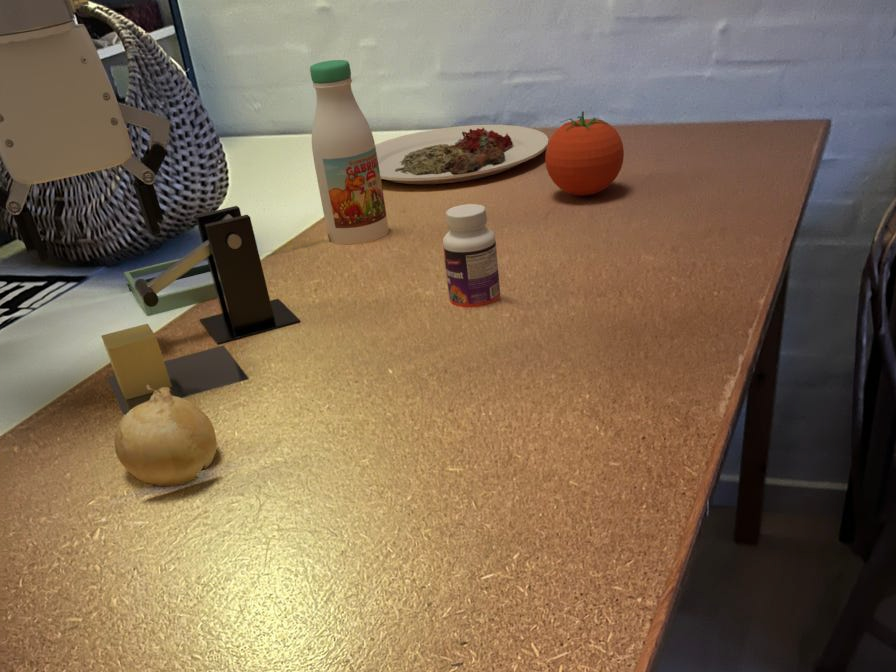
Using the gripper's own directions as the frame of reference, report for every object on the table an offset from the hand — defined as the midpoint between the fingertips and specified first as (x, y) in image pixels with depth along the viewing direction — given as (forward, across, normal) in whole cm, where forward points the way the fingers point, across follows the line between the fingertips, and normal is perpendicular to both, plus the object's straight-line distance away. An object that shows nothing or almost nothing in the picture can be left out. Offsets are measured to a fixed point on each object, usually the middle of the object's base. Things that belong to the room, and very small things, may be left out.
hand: (99, 244), depth 85 cm
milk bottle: (+14, -33, -30) cm, 47 cm away
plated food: (+14, -58, -56) cm, 82 cm away
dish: (+14, -10, -26) cm, 31 cm away
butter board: (+14, -3, 0) cm, 15 cm away
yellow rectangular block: (+13, 0, 0) cm, 13 cm away
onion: (+15, +1, +17) cm, 23 cm away
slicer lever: (+7, -9, -10) cm, 15 cm away
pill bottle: (+15, -35, 0) cm, 38 cm away
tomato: (+15, -64, -26) cm, 70 cm away
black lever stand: (+14, -13, -10) cm, 21 cm away
